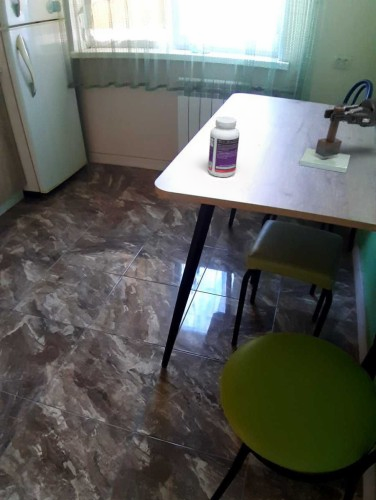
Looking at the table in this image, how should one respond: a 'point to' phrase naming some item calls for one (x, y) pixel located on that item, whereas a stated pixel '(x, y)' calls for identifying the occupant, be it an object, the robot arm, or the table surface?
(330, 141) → the brush
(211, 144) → the pill bottle
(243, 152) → the table surface
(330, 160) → the tile
